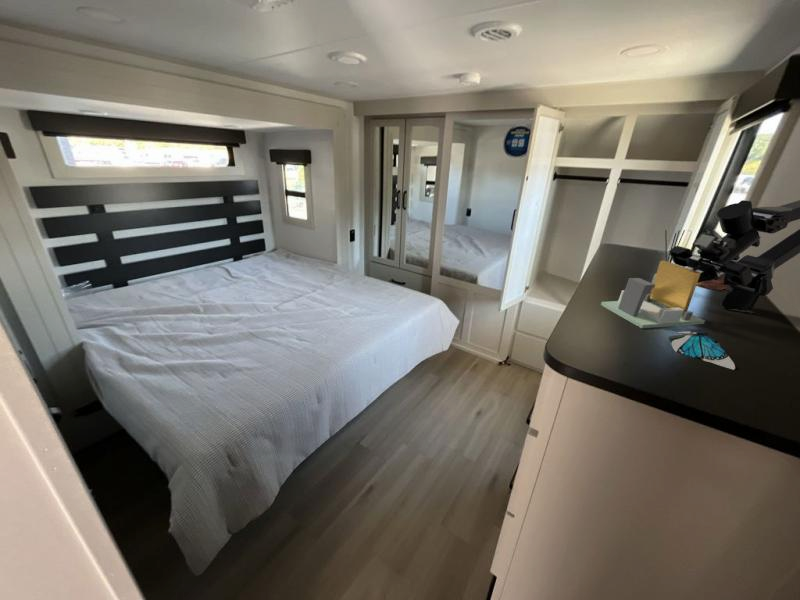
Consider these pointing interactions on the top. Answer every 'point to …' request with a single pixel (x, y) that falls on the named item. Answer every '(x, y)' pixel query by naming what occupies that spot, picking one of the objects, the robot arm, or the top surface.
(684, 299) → the gold rectangular plate
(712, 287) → the brown piece
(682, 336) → the decorative butterfly
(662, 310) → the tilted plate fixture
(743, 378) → the top surface
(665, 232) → the reed diffuser
